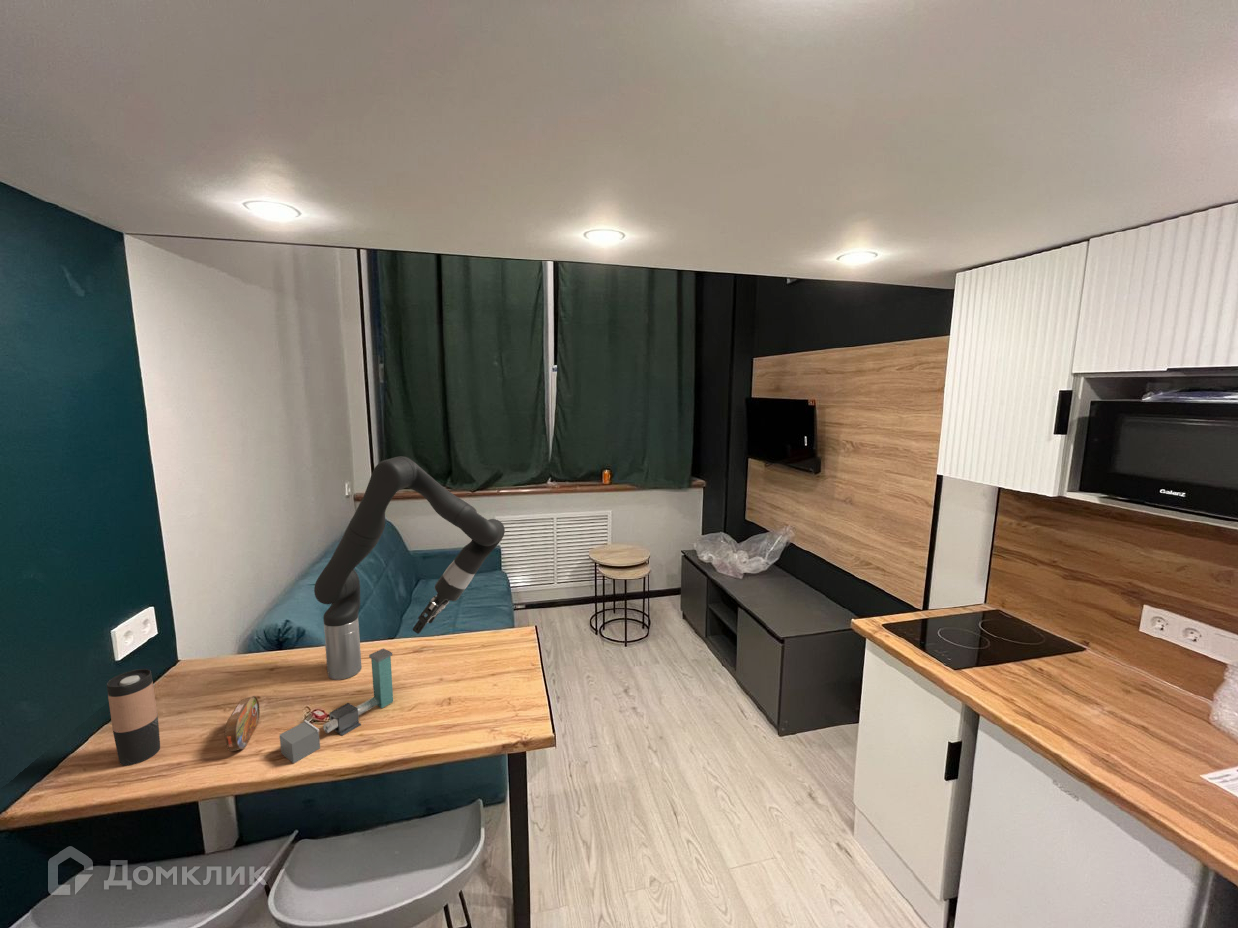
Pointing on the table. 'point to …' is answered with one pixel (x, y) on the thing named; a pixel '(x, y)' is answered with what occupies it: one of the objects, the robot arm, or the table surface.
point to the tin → (242, 723)
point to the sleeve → (345, 718)
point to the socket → (299, 741)
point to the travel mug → (134, 716)
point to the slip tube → (374, 686)
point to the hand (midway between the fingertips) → (421, 626)
